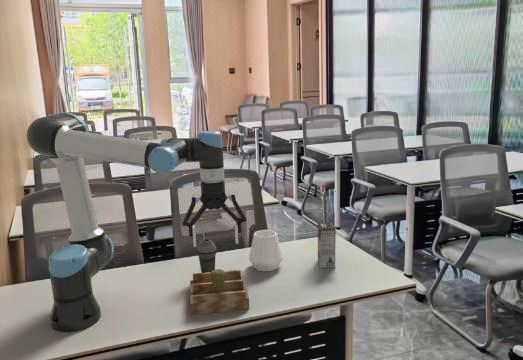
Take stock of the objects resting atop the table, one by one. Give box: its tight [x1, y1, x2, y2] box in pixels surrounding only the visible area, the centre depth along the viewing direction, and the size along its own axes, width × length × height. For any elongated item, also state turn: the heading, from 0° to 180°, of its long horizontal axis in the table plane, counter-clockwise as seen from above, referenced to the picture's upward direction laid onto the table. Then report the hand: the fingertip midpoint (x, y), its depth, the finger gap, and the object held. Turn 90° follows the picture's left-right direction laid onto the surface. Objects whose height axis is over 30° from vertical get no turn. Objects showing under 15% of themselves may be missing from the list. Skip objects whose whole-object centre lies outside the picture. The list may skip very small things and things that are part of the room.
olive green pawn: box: [210, 268, 227, 293], centre depth 162 cm, size 6×6×11 cm
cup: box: [248, 229, 284, 272], centre depth 191 cm, size 13×13×14 cm
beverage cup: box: [196, 228, 217, 273], centre depth 181 cm, size 7×7×20 cm
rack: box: [189, 269, 250, 315], centre depth 167 cm, size 19×18×6 cm
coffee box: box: [317, 221, 337, 269], centre depth 192 cm, size 9×6×16 cm
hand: (216, 244), depth 158 cm, fingers open, 13 cm apart
